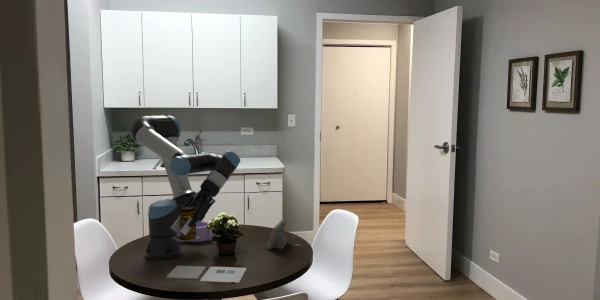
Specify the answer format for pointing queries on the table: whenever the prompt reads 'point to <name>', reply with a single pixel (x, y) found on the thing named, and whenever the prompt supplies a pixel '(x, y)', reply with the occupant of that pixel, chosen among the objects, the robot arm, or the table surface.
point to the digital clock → (278, 236)
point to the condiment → (184, 217)
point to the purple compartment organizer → (201, 232)
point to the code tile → (223, 274)
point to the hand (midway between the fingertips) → (178, 231)
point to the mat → (186, 272)
